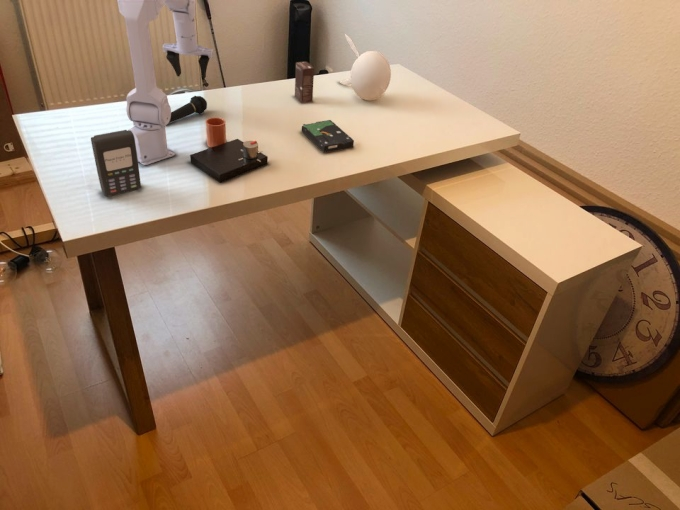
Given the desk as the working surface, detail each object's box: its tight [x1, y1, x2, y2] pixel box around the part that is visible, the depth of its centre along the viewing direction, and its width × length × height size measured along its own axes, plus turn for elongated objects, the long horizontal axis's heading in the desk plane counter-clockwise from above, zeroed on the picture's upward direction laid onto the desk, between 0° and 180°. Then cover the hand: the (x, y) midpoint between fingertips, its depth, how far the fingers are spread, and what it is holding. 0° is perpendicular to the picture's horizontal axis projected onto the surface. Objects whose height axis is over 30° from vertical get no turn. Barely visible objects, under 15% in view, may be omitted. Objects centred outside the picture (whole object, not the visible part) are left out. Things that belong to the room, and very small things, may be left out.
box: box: [294, 61, 315, 104], centre depth 185 cm, size 6×4×12 cm
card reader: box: [90, 129, 142, 197], centre depth 130 cm, size 9×4×15 cm, turn 126°
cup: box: [205, 117, 227, 148], centre depth 156 cm, size 5×5×7 cm
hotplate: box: [189, 138, 269, 184], centre depth 149 cm, size 17×14×3 cm
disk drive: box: [301, 119, 355, 153], centre depth 166 cm, size 10×3×15 cm
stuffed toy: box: [339, 33, 392, 101], centre depth 192 cm, size 19×14×25 cm
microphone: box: [168, 95, 208, 124], centre depth 167 cm, size 6×6×20 cm
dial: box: [243, 140, 259, 159], centre depth 149 cm, size 4×4×4 cm
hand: (191, 76), depth 168 cm, fingers open, 7 cm apart
